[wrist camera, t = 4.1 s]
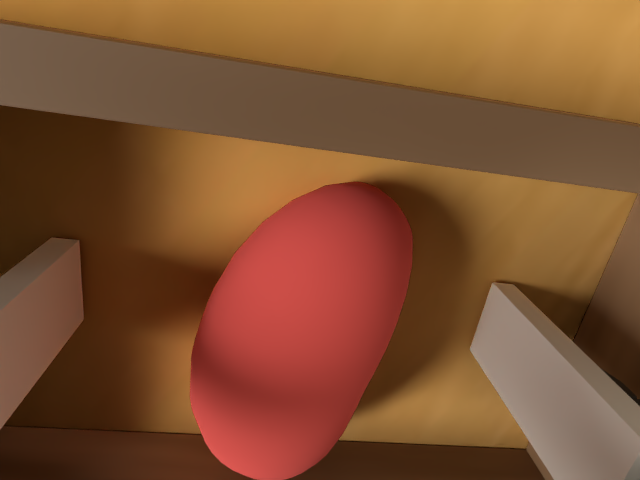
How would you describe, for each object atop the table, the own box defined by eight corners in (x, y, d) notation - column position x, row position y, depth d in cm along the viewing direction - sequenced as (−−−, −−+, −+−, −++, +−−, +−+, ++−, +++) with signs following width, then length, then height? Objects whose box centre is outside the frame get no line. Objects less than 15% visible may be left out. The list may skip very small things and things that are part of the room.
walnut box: (540, 468, 18) (653, 645, 13) (-64, 444, 15) (-262, 666, 10) (695, 132, 13) (998, 185, 8) (-169, -9, 10) (-725, -94, 4)
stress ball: (151, 312, 16) (142, 515, 12) (263, 118, 10) (314, 379, 6) (278, 326, 18) (304, 494, 14) (420, 179, 13) (522, 386, 9)
